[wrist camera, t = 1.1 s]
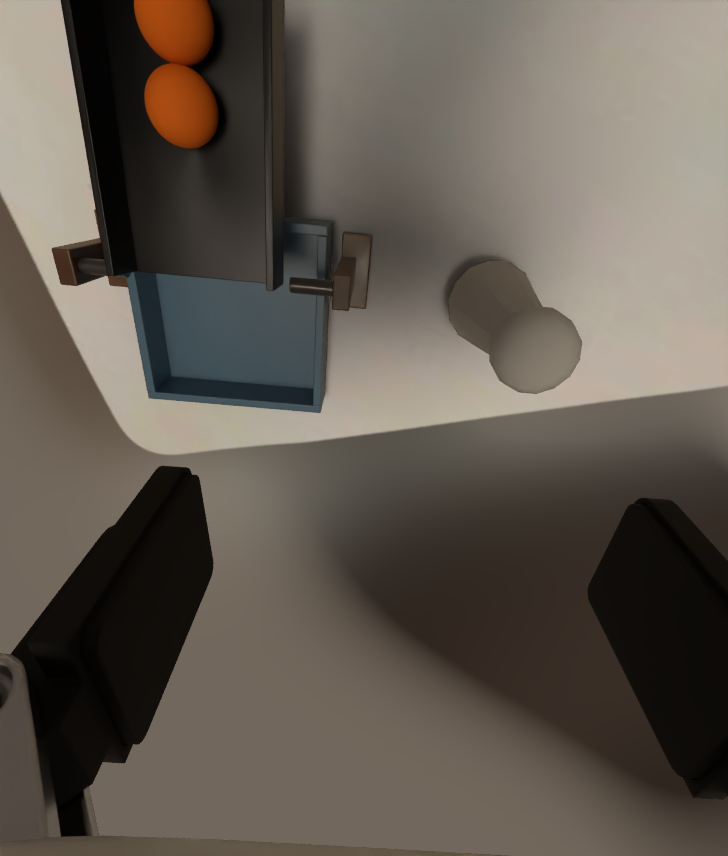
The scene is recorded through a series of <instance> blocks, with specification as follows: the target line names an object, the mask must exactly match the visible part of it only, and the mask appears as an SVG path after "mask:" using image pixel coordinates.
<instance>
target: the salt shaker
mask: <svg viewBox="0 0 728 856" xmlns="http://www.w3.org/2000/svg"><path fill="white" fill-rule="evenodd" d="M448 303H449V318H450V321H451V323H452V325H453V327H454V329H455V331H456V332H457V334H458V335H459V336H461V337H462V338H464V339H465V340H467V341H469V342H470V343H472V344H473V345H475V346H476V347H478V348H480V349H481V350H483V351H484V352H486V353H488V354H489V355H490V363H491V365H492V367H493V369H494V371H495V373H496V375H497V376H498V378H499V380H500V381H501V382H503V383H504V384H505V385H507V386H509V387H511V388H512V389H514V390H516V391H517V392H521V393H532V394H538V393H541V392H544V391H547V390H550V389H553V388H555V387H556V386H558V385H559V384H560V383H562V382H563V381H564V380H566V379H567V378H568V377H570V375H571V374H572V372H573V370H574V369H575V367H576V365H577V364H578V362H579V360H580V354H581V346H582V341H581V338H580V336H579V334H578V332H577V330H576V327H575V325H574V324H573V322H572V321H571V320H570V319H568V318H567V317H566V316H564V315H563V314H561V313H560V312H558V311H557V310H555V309H553V308H549V307H542V305H541V303H540V301H539V299H538V297H537V296H536V294H535V292H534V290H533V288H532V286H531V284H530V282H529V279H528V277H527V275H526V273H525V272H523V271H522V270H520V269H519V268H518V267H516V266H515V265H513V264H512V263H511V262H501V261H487V262H484V263H482V264H479V265H476V266H473V267H470V268H469V269H468V270H467V271H466V272H465V273H464V274H463V275H462V276H461V277H460V279H459V280H458V281H457V282H456V283H455V286H454V288H453V290H452V293H451V295H450V297H449V300H448Z"/></svg>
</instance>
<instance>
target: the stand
mask: <svg viewBox="0 0 728 856" xmlns="http://www.w3.org/2000/svg"><path fill="white" fill-rule="evenodd" d="M94 211H95V216H96V221H97V225H98V219H97V213H96V209H95V210H94ZM98 230H99V225H98ZM99 235H100V231H99ZM371 243H372V235H370V234H360V233H349V232H344V233H343V241H342V257H341V260H340V262H339V264H338V267H337V269H336V271H335V273H334V279H333V281H329V280H319V279H308V278H297V277H291V278H290V282H289V290H290V292H291V293H298V294H309V295H319V296H330V297H333V300H332V309H333V310H344V311H349V308H361V309H366V301H367V289H368V278H369V266H370V254H371ZM52 252H53V256H54V260H55V264H56V268H57V272H58V275H59V279H60V283H61V284H62V285H72V286H78V285H81V284H84V283H87V282H90V281H92V280H95V279H98V278H101V277H104V276H107V273H106V267H105V261H104V255H103V249H102V243H101V237H100V238H98V239H93V240H88V241H84V242H79V243H74V244H69V245H64V246H60V247H55V248H52ZM130 274H131V273H129V274H124V275H119V276H115V277H111V276H108V279H109V284H110V285H111V286H121V287H128V284H127V279H126V278H128V277H129V276H130Z"/></svg>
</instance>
